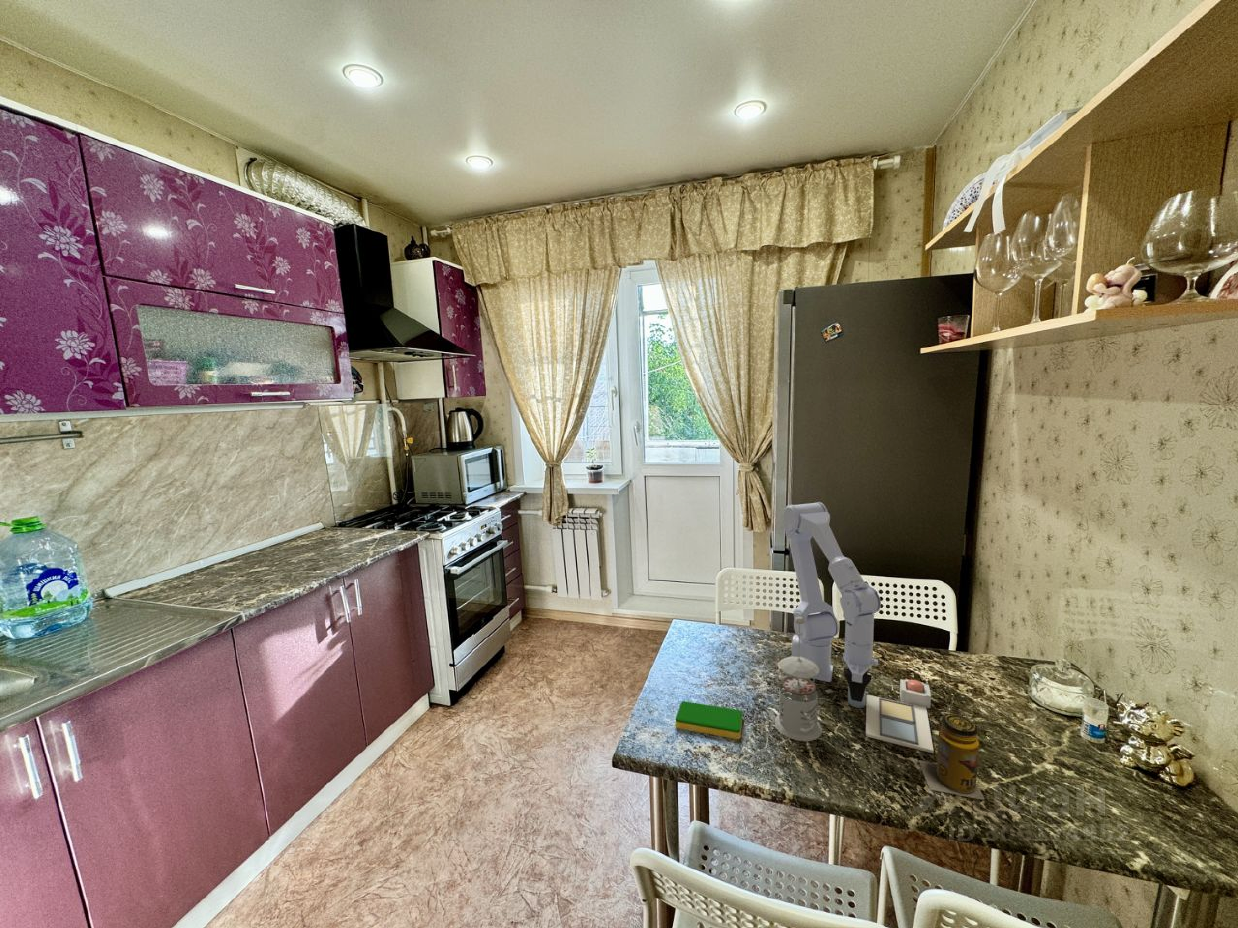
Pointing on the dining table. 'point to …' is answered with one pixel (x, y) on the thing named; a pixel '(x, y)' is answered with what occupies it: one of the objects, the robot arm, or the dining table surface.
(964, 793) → the condiment
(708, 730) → the dish sponge
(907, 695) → the button housing
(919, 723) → the sheet
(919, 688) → the button
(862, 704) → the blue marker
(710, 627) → the dining table surface
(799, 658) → the french press
